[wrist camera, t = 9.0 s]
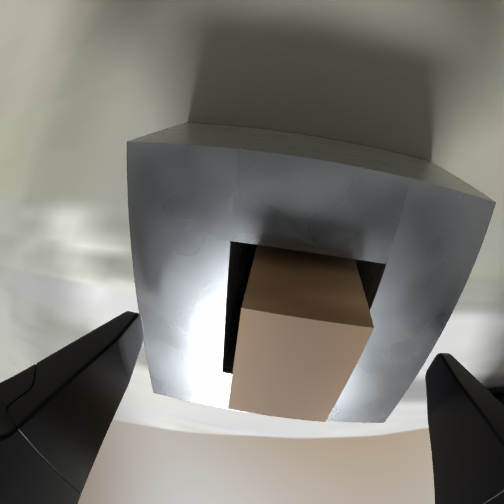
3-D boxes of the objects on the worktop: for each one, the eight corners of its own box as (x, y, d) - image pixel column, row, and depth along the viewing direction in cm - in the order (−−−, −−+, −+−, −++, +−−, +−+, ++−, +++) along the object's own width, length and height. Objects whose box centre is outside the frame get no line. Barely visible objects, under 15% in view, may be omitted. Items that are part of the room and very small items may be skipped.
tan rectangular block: (339, 214, 13) (374, 328, 7) (318, 293, 15) (325, 421, 9) (267, 201, 13) (241, 307, 7) (255, 282, 15) (227, 408, 9)
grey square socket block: (431, 161, 11) (495, 202, 7) (369, 346, 16) (384, 422, 11) (187, 122, 12) (126, 141, 7) (185, 320, 16) (153, 392, 12)
